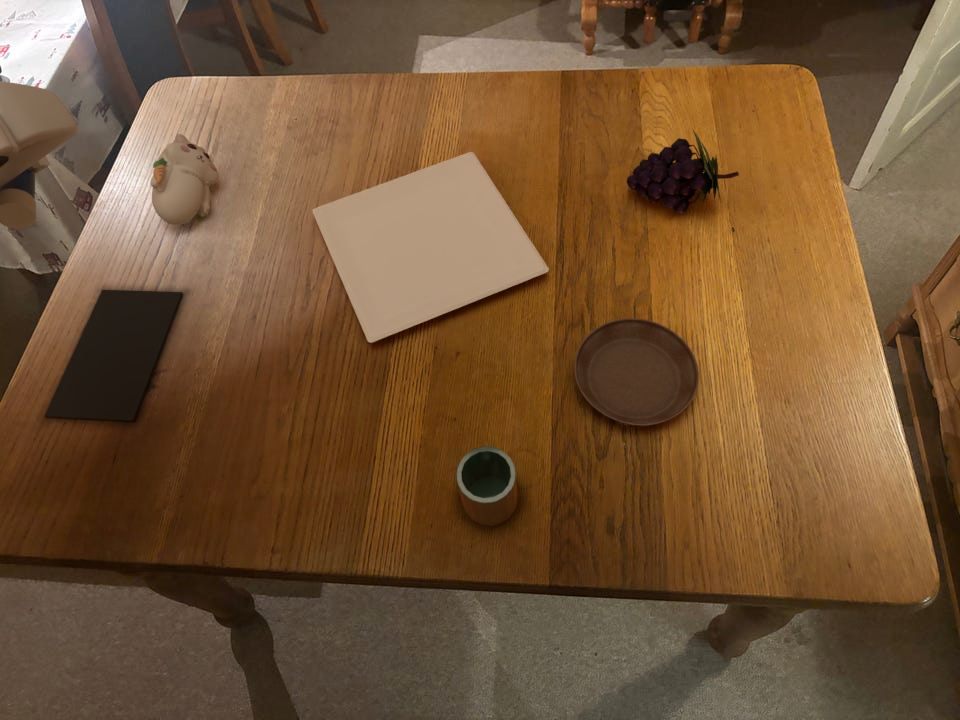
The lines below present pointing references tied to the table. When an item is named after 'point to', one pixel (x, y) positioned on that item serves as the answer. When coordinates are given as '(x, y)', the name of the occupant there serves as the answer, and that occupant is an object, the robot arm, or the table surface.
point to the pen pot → (487, 485)
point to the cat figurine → (182, 182)
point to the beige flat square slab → (425, 245)
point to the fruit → (677, 175)
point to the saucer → (636, 371)
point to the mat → (115, 356)
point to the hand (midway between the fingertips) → (23, 172)
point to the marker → (18, 201)
